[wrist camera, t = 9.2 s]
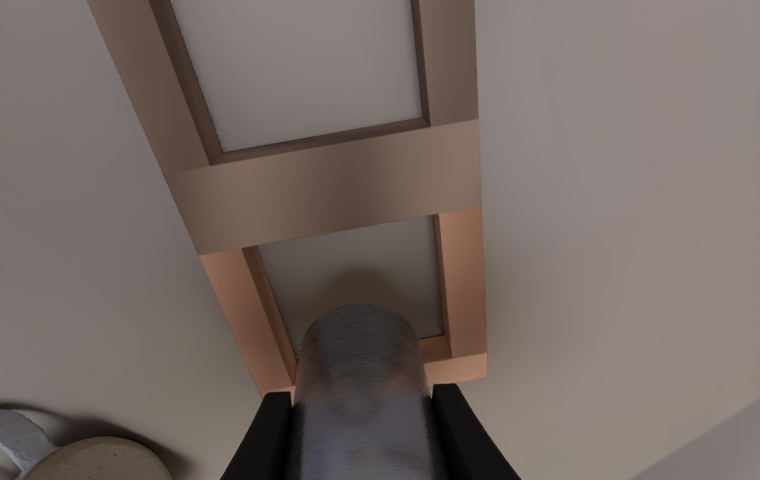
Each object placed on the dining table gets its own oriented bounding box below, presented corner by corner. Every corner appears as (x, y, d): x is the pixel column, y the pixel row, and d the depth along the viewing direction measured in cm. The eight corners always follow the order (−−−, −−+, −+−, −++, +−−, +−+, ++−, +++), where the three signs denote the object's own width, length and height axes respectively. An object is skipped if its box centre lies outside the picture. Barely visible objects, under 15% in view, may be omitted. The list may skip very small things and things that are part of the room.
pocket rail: (273, 388, 19) (268, 414, 18) (44, -174, 10) (-4, -206, 8) (477, 353, 19) (487, 377, 18) (447, -248, 10) (463, -291, 8)
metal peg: (305, 395, 14) (266, 747, 7) (295, 306, 13) (233, 664, 6) (415, 389, 15) (478, 723, 8) (422, 301, 13) (515, 636, 6)
